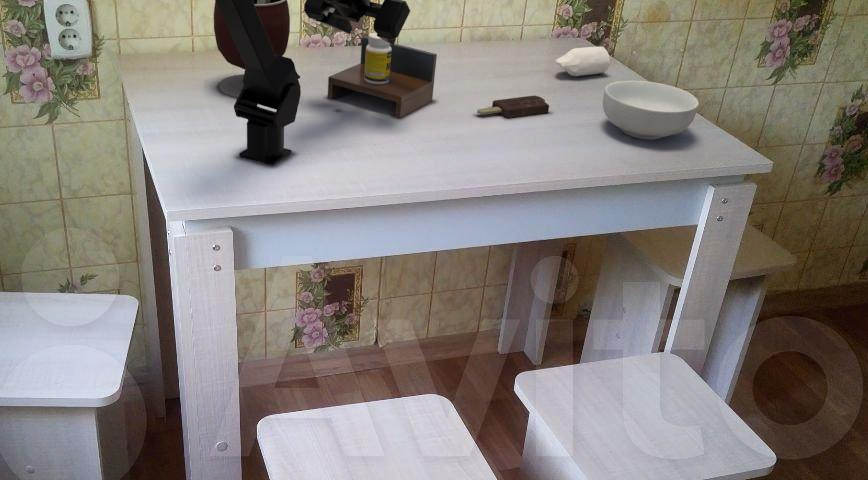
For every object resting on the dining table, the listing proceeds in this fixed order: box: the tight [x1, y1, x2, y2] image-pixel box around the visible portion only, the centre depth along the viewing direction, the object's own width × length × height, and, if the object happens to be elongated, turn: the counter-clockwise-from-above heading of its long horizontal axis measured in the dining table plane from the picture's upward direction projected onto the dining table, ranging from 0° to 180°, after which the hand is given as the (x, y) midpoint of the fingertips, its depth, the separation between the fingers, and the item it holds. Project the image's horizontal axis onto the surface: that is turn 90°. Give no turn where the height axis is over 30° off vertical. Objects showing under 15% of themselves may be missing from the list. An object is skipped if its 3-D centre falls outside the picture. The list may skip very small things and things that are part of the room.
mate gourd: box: [213, 0, 291, 99], centre depth 182 cm, size 16×14×20 cm
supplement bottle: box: [364, 32, 392, 84], centre depth 181 cm, size 5×5×8 cm
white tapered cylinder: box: [555, 46, 611, 77], centre depth 204 cm, size 6×12×6 cm, turn 119°
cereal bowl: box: [602, 79, 699, 141], centre depth 179 cm, size 17×17×7 cm
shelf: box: [327, 35, 438, 119], centre depth 184 cm, size 12×16×9 cm
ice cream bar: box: [476, 95, 550, 119], centre depth 185 cm, size 5×2×15 cm
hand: (372, 37), depth 176 cm, fingers open, 9 cm apart
